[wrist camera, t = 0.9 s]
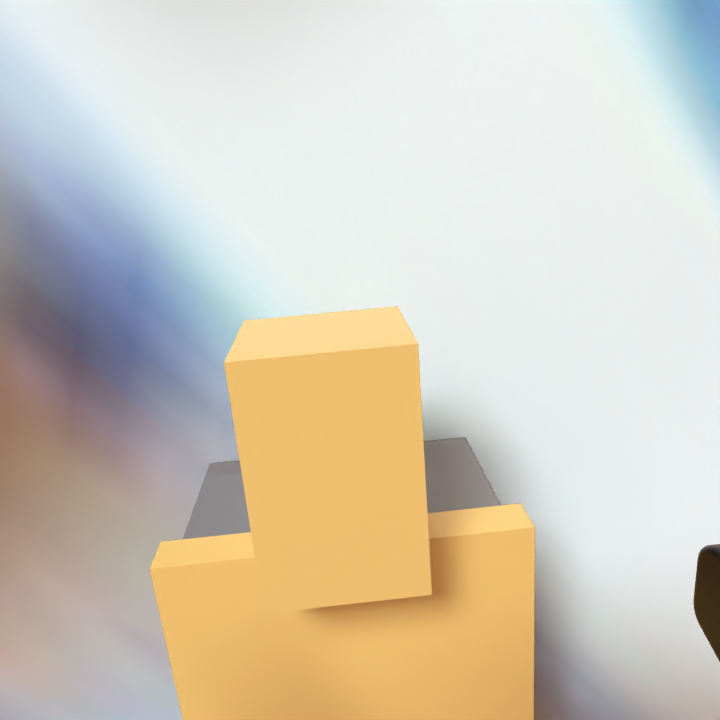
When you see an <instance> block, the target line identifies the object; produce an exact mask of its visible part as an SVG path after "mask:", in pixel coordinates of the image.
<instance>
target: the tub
mask: <svg viewBox="0 0 720 720" xmlns="http://www.w3.org/2000/svg"><path fill="white" fill-rule="evenodd" d="M424 460H425V478H426V496H427V513H435V512H445V511H454V510H464V509H473V508H482V507H492V506H501V504H500V502H499V500H498V498H497V496H496V494H495V493H494V491H493V489H492V487H491V485H490V483H489V481H488V479H487V477H486V476H485V474H484V472H483V470H482V468H481V466H480V464H479V462H478V461H477V459H476V457H475V455H474V453H473V451H472V449H471V447H470V446H469V444H468V442H467V440H466V438H455V439H445V440H435V441H426V442H424ZM248 532H251V530H250V524H249V517H248V511H247V504H246V498H245V492H244V485H243V479H242V473H241V466H240V461H230V462H221V463H211V464H210V465H209V468H208V471H207V473H206V476H205V479H204V482H203V484H202V487H201V490H200V493H199V495H198V498H197V501H196V504H195V507H194V509H193V512H192V515H191V518H190V520H189V523H188V526H187V529H186V532H185V534H184V537H183V539H192V538H201V537H210V536H220V535H229V534H238V533H248Z"/></svg>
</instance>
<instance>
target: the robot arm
mask: <svg viewBox="0 0 720 720" xmlns="http://www.w3.org/2000/svg"><path fill="white" fill-rule="evenodd" d="M694 610H695V614H696V617H697V620H698V622H699V625H700V627H701V628H702V630H703V632H704V634H705V636H706V638H707V639H708V641H709V643H710V645H711V647H712V648H713V650H714V652H715V654H716V656H717V658H718V659H719V661H720V544H716V545H708V546H705V547H704V548H702V549H701V551H700V553H699V556H698V562H697V572H696V582H695V591H694Z"/></svg>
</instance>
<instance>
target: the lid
mask: <svg viewBox="0 0 720 720" xmlns="http://www.w3.org/2000/svg"><path fill="white" fill-rule="evenodd" d="M224 365H225V371H226V377H227V384H228V390H229V396H230V403H231V409H232V416H233V422H234V428H235V435H236V441H237V447H238V454H239V460H240V466H241V473H242V479H243V485H244V492H245V498H246V504H247V511H248V517H249V524H250V530H251V532H248V533H238V534H229V535H220V536H210V537H201V538H192V539H182V540H173V541H163V542H161V543H160V545H159V548H158V550H157V552H156V555H155V557H154V560H153V562H152V564H151V567H150V573H151V578H152V582H153V587H154V591H155V596H156V600H157V605H158V609H159V614H160V618H161V623H162V627H163V632H164V636H165V641H166V646H167V650H168V655H169V659H170V664H171V668H172V673H173V677H174V682H175V686H176V691H177V695H178V700H179V704H180V709H181V714H182V718H183V720H534V596H535V526H534V525H533V523H532V521H531V520H530V518H529V516H528V515H527V513H526V511H525V510H524V508H523V506H522V505H521V503H520V504H510V505H501V506H492V507H482V508H473V509H464V510H454V511H445V512H435V513H427V496H426V478H425V460H424V441H423V423H422V405H421V386H420V368H419V350H418V343H417V341H416V339H415V337H414V335H413V333H412V332H411V330H410V328H409V326H408V324H407V322H406V321H405V319H404V317H403V315H402V313H401V312H400V310H399V308H398V306H395V307H384V308H374V309H363V310H353V311H342V312H331V313H321V314H310V315H300V316H289V317H278V318H268V319H257V320H247V321H244V322H243V324H242V326H241V328H240V330H239V332H238V334H237V336H236V338H235V341H234V343H233V345H232V347H231V349H230V351H229V353H228V355H227V358H226V360H225V362H224Z"/></svg>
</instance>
